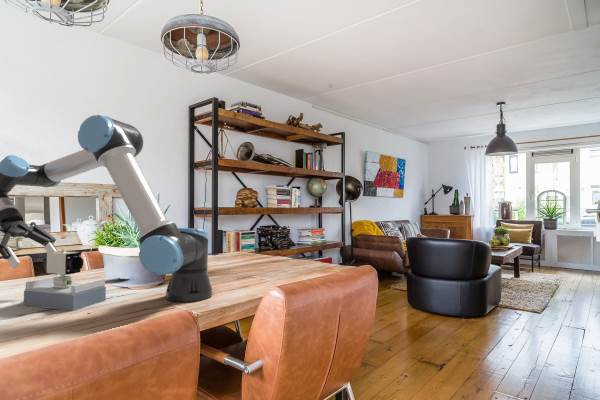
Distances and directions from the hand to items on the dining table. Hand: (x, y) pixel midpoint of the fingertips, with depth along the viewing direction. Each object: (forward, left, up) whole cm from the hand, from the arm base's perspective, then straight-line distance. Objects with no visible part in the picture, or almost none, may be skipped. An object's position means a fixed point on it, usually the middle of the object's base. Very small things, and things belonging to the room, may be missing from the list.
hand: (38, 262), depth 117 cm
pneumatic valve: (-11, +1, -7) cm, 14 cm away
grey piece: (-10, 0, -12) cm, 16 cm away
